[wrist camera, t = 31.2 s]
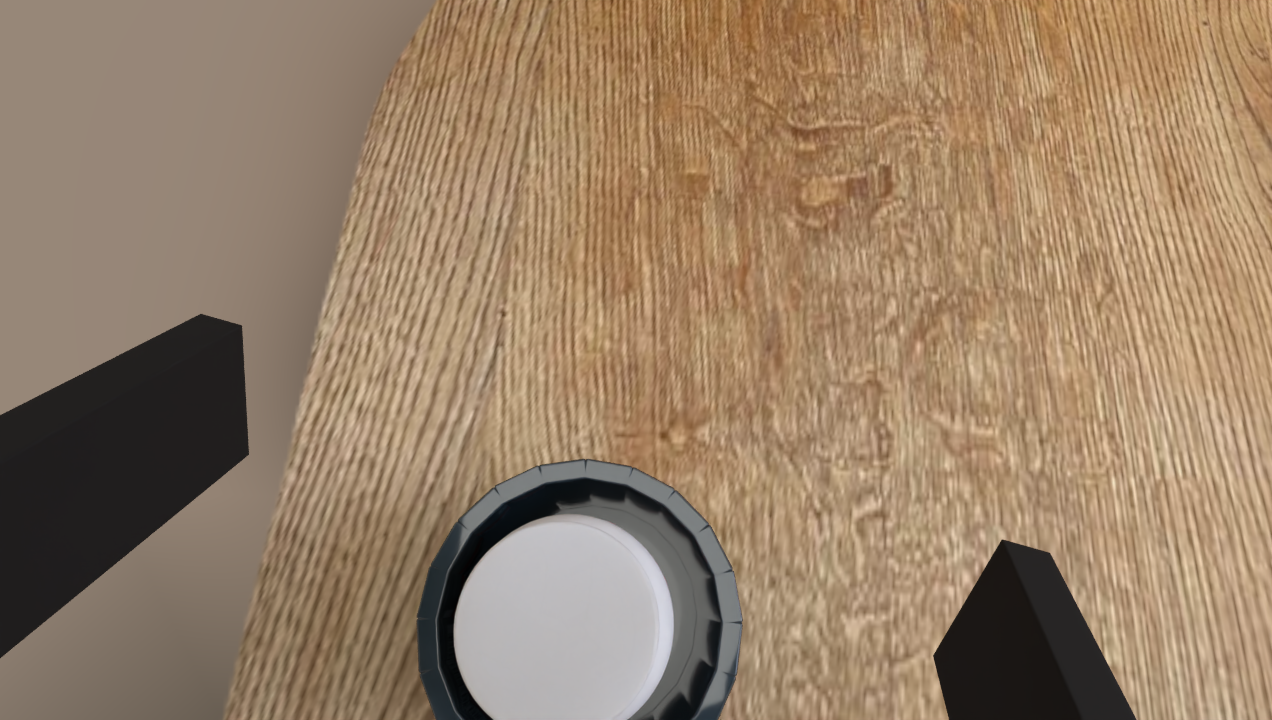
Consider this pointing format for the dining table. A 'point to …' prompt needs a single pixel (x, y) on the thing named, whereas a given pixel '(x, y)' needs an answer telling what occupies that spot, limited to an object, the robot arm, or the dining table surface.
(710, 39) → the dining table surface
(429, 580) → the tube
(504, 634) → the pill bottle
